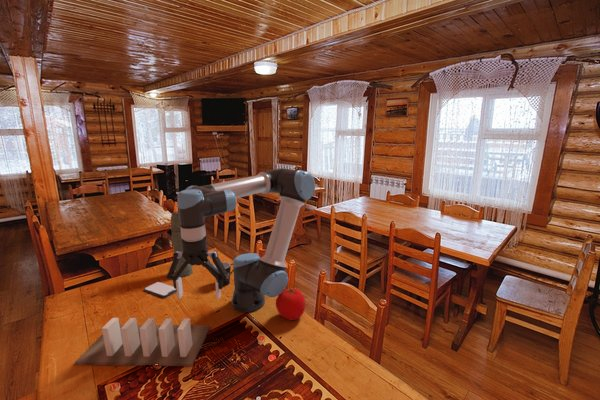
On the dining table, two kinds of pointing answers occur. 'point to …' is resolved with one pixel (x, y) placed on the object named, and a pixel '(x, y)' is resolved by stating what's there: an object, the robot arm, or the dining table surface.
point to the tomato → (290, 304)
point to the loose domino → (184, 337)
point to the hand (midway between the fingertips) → (199, 296)
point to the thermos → (178, 244)
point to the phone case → (160, 289)
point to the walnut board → (99, 356)
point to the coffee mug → (227, 267)
